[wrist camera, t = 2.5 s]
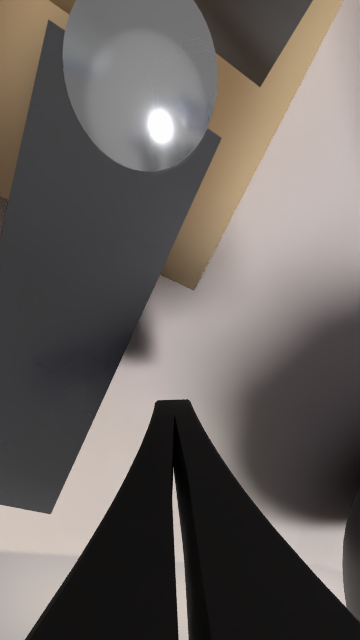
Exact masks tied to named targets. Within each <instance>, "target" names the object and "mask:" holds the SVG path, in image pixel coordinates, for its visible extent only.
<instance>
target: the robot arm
mask: <svg viewBox="0 0 360 640" xmlns="http://www.w3.org/2000/svg"><path fill="white" fill-rule="evenodd" d="M173 467H174V476H175V484H176V492H177V500H178V509H179V517H180V525H181V533H182V541H183V552H184V564H185V581H186V598H187V616H188V634H189V640H360V622H359V621H358V620H357V618H356V617H355V616H354V615H353V614H352V613H351V612H350V611H349V610H348V609H347V608H346V607H345V606H344V605H343V604H342V603H341V602H340V600H339V599H338V598H337V597H336V596H335V595H334V594H333V593H332V592H331V591H330V590H329V589H328V588H327V587H326V586H325V585H324V584H323V582H322V581H321V580H320V579H319V578H318V577H317V576H316V575H315V574H314V573H313V572H312V570H311V569H310V568H309V567H308V566H307V565H306V563H305V562H304V561H303V560H302V559H301V558H300V557H299V556H298V554H297V553H296V552H295V551H294V550H293V549H292V548H291V546H290V545H289V544H288V543H287V542H286V541H285V540H284V539H283V537H282V536H281V535H280V534H279V533H278V532H277V531H276V529H275V528H274V527H273V526H272V525H271V523H270V522H269V521H268V520H267V518H266V517H265V516H264V515H263V513H262V512H261V511H260V510H259V509H258V507H257V506H256V505H255V504H254V502H253V501H252V500H251V498H250V497H249V496H248V494H247V493H246V492H245V491H244V489H243V488H242V487H241V485H240V484H239V482H238V481H237V480H236V478H235V477H234V475H233V474H232V473H231V471H230V470H229V468H228V467H227V465H226V464H225V462H224V461H223V459H222V458H221V456H220V455H219V453H218V452H217V450H216V449H215V447H214V445H213V444H212V442H211V440H210V439H209V437H208V435H207V434H206V432H205V430H204V429H203V427H202V425H201V423H200V421H199V419H198V417H197V415H196V413H195V411H194V409H193V407H192V404H191V402H190V401H189V400H188V399H186V400H158V401H157V402H156V403H155V407H154V411H153V415H152V418H151V421H150V424H149V427H148V429H147V432H146V434H145V437H144V439H143V442H142V444H141V446H140V449H139V451H138V453H137V455H136V457H135V459H134V461H133V464H132V466H131V468H130V470H129V472H128V474H127V476H126V478H125V480H124V482H123V484H122V486H121V487H120V489H119V491H118V493H117V495H116V497H115V499H114V500H113V502H112V504H111V506H110V507H109V509H108V511H107V513H106V514H105V516H104V518H103V520H102V521H101V523H100V525H99V526H98V528H97V530H96V531H95V533H94V535H93V536H92V538H91V540H90V541H89V543H88V544H87V546H86V548H85V549H84V551H83V553H82V554H81V556H80V557H79V559H78V561H77V562H76V564H75V565H74V567H73V568H72V570H71V572H70V573H69V575H68V576H67V577H66V579H65V581H64V582H63V584H62V585H61V586H60V588H59V589H58V591H57V592H56V594H55V596H54V597H53V598H52V600H51V602H50V603H49V604H48V606H47V607H46V609H45V611H44V612H43V613H42V615H41V616H40V618H39V619H38V621H37V623H36V624H35V625H34V627H33V628H32V630H31V632H30V633H29V635H28V636H27V637H26V639H25V640H178V619H177V598H176V577H175V555H174V533H173V510H172V489H173Z"/></svg>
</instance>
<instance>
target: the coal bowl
mask: <svg viewBox="0 0 360 640" xmlns="http://www.w3.org/2000/svg"><path fill="white" fill-rule="evenodd" d="M343 582H344V592H345V599H346V606H347V609H348V610H349V611H350V612H351V613H352V614H353V615H354V616H355V617H356V618H357V620H358V621H359V622H360V490H359V492H358V494H357V495H356V497H355V499H354V501H353V503H352V506H351V509H350V512H349V516H348V519H347V523H346V528H345V535H344V541H343Z"/></svg>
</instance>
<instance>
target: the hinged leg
mask: <svg viewBox="0 0 360 640" xmlns="http://www.w3.org/2000/svg"><path fill="white" fill-rule="evenodd" d="M217 83H218V72H217V60H216V53H215V48H214V44H213V40H212V37H211V34H210V31H209V28H208V26H207V23H206V21H205V19H204V17H203V15H202V13H201V11H200V10H199V8H198V6H197V5H196V3H195V2H194V0H76V1H75V3H74V6H73V8H72V10H71V12H70V15H69V18H68V21H67V25H66V29H65V30H63V29H62V28H61V27H59V26H58V25H56V24H55V23H53V22H52V21H50V20H49V19H48V23H47V27H46V32H45V36H44V41H43V45H42V50H41V55H40V59H39V64H38V68H37V73H36V77H35V82H34V86H33V91H32V95H31V100H30V104H29V109H28V113H27V118H26V123H25V127H24V132H23V136H22V141H21V145H20V150H19V154H18V159H17V163H16V168H15V172H14V177H13V182H12V186H11V191H10V195H9V200H8V204H7V209H6V213H5V218H4V222H3V227H2V231H1V236H0V505H5V506H11V507H16V508H21V509H26V510H31V511H37V512H42V513H47V514H51V512H52V510H53V508H54V506H55V503H56V501H57V499H58V497H59V495H60V492H61V490H62V488H63V486H64V484H65V481H66V479H67V477H68V475H69V473H70V470H71V468H72V466H73V464H74V462H75V460H76V457H77V455H78V453H79V451H80V449H81V446H82V444H83V442H84V440H85V438H86V435H87V433H88V431H89V429H90V427H91V424H92V422H93V420H94V418H95V416H96V413H97V411H98V409H99V407H100V405H101V402H102V400H103V398H104V396H105V394H106V391H107V389H108V387H109V385H110V383H111V380H112V378H113V376H114V374H115V372H116V370H117V367H118V365H119V363H120V361H121V359H122V356H123V354H124V352H125V350H126V348H127V345H128V343H129V341H130V339H131V337H132V334H133V332H134V330H135V328H136V326H137V323H138V321H139V319H140V317H141V315H142V312H143V310H144V308H145V306H146V304H147V301H148V299H149V297H150V295H151V293H152V290H153V288H154V286H155V284H156V282H157V280H158V277H159V275H160V273H161V271H162V269H163V266H164V264H165V262H166V260H167V258H168V255H169V253H170V251H171V249H172V247H173V244H174V242H175V240H176V238H177V236H178V233H179V231H180V229H181V227H182V225H183V222H184V220H185V218H186V216H187V214H188V211H189V209H190V207H191V205H192V203H193V200H194V198H195V196H196V194H197V192H198V190H199V187H200V185H201V183H202V181H203V179H204V176H205V174H206V172H207V170H208V168H209V165H210V163H211V161H212V159H213V157H214V154H215V152H216V150H217V148H218V146H219V143H220V141H221V139H222V138H221V137H220V136H218V135H217V134H215V133H214V132H212V131H211V130H210V129H208V125H209V122H210V119H211V117H212V114H213V110H214V106H215V102H216V95H217Z"/></svg>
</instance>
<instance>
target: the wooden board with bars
mask: <svg viewBox="0 0 360 640" xmlns="http://www.w3.org/2000/svg"><path fill="white" fill-rule="evenodd" d="M75 1H76V0H0V197H2V198H4V199H6V200H9V195H10V191H11V186H12V182H13V177H14V172H15V168H16V163H17V159H18V154H19V150H20V145H21V141H22V136H23V132H24V127H25V123H26V118H27V113H28V109H29V104H30V100H31V95H32V91H33V86H34V82H35V77H36V73H37V68H38V64H39V59H40V55H41V50H42V45H43V41H44V36H45V32H46V27H47V23H48V19H49V20H50V21H52V22H53V23H55V24H56V25H58V26H59V27H61V28H62V29H63V30H65V29H66V25H67V21H68V18H69V15H70V12H71V10H72V8H73V6H74V3H75ZM194 2H195V3H196V5H197V6H198V8H199V10H200V11H201V13H202V15H203V17H204V19H205V21H206V23H207V26H208V28H209V31H210V34H211V37H212V40H213V44H214V48H215V53H216V60H217V72H218V83H217V95H216V102H215V106H214V110H213V114H212V117H211V119H210V122H209V125H208V129H210V130H211V131H212V132H214V133H215V134H217V135H218V136H220V137H221V138H222V139H221V141H220V143H219V146H218V148H217V150H216V152H215V154H214V157H213V159H212V161H211V163H210V165H209V168H208V170H207V172H206V174H205V176H204V179H203V181H202V183H201V185H200V187H199V190H198V192H197V194H196V196H195V198H194V200H193V203H192V205H191V207H190V209H189V211H188V214H187V216H186V218H185V220H184V222H183V225H182V227H181V229H180V231H179V233H178V236H177V238H176V240H175V242H174V244H173V247H172V249H171V251H170V253H169V255H168V258H167V260H166V262H165V264H164V266H163V269H162V271H161V273H160V274H161V275H163V276H165V277H167V278H169V279H171V280H173V281H175V282H177V283H179V284H181V285H183V286H185V287H188V288H190V289H192V290H195V288H196V286H197V284H198V282H199V280H200V278H201V276H202V274H203V272H204V270H205V268H206V266H207V264H208V262H209V261H210V259H211V257H212V255H213V253H214V251H215V249H216V247H217V245H218V243H219V241H220V239H221V237H222V235H223V233H224V231H225V229H226V228H227V226H228V224H229V222H230V220H231V218H232V216H233V214H234V212H235V210H236V208H237V206H238V204H239V202H240V200H241V198H242V196H243V195H244V193H245V191H246V189H247V187H248V185H249V183H250V181H251V179H252V177H253V175H254V173H255V171H256V169H257V167H258V165H259V163H260V162H261V160H262V158H263V156H264V154H265V152H266V150H267V148H268V146H269V144H270V142H271V140H272V138H273V136H274V134H275V132H276V130H277V129H278V127H279V125H280V123H281V121H282V119H283V117H284V115H285V113H286V111H287V109H288V107H289V105H290V103H291V101H292V99H293V97H294V96H295V94H296V92H297V90H298V88H299V86H300V84H301V82H302V80H303V78H304V76H305V74H306V72H307V70H308V68H309V66H310V64H311V63H312V61H313V59H314V57H315V55H316V53H317V51H318V49H319V47H320V45H321V43H322V41H323V39H324V37H325V35H326V33H327V32H328V30H329V28H330V26H331V24H332V22H333V20H334V18H335V16H336V14H337V12H338V10H339V8H340V6H341V4H342V2H343V0H194Z"/></svg>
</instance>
